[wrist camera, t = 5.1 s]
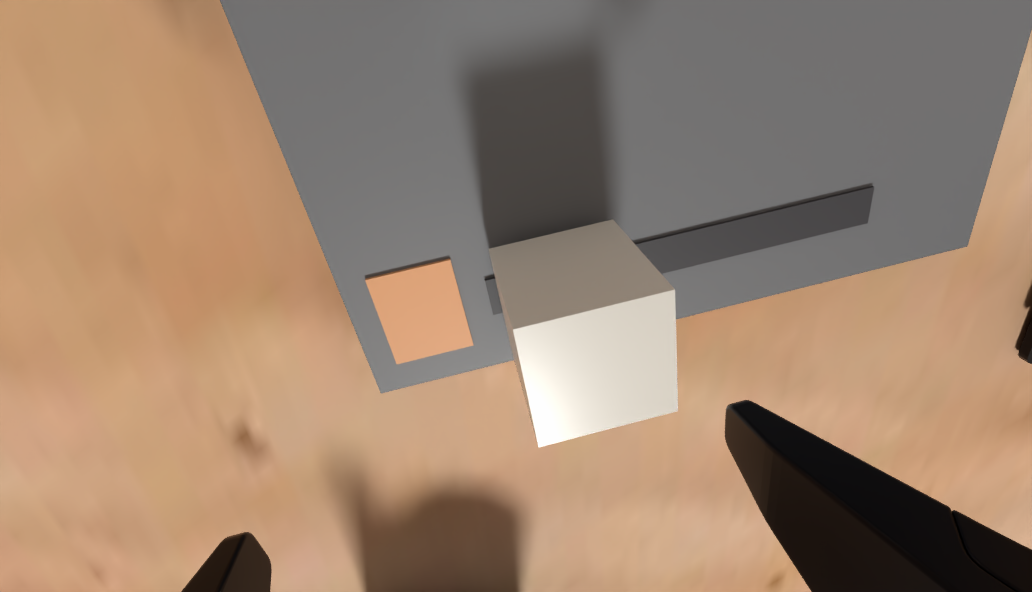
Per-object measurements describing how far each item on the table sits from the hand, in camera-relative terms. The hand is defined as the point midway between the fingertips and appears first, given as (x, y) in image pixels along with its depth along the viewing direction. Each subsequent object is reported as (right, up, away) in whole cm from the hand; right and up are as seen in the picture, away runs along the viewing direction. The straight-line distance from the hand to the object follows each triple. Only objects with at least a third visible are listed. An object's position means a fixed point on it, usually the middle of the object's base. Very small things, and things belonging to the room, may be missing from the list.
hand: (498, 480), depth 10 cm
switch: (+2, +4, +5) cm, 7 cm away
